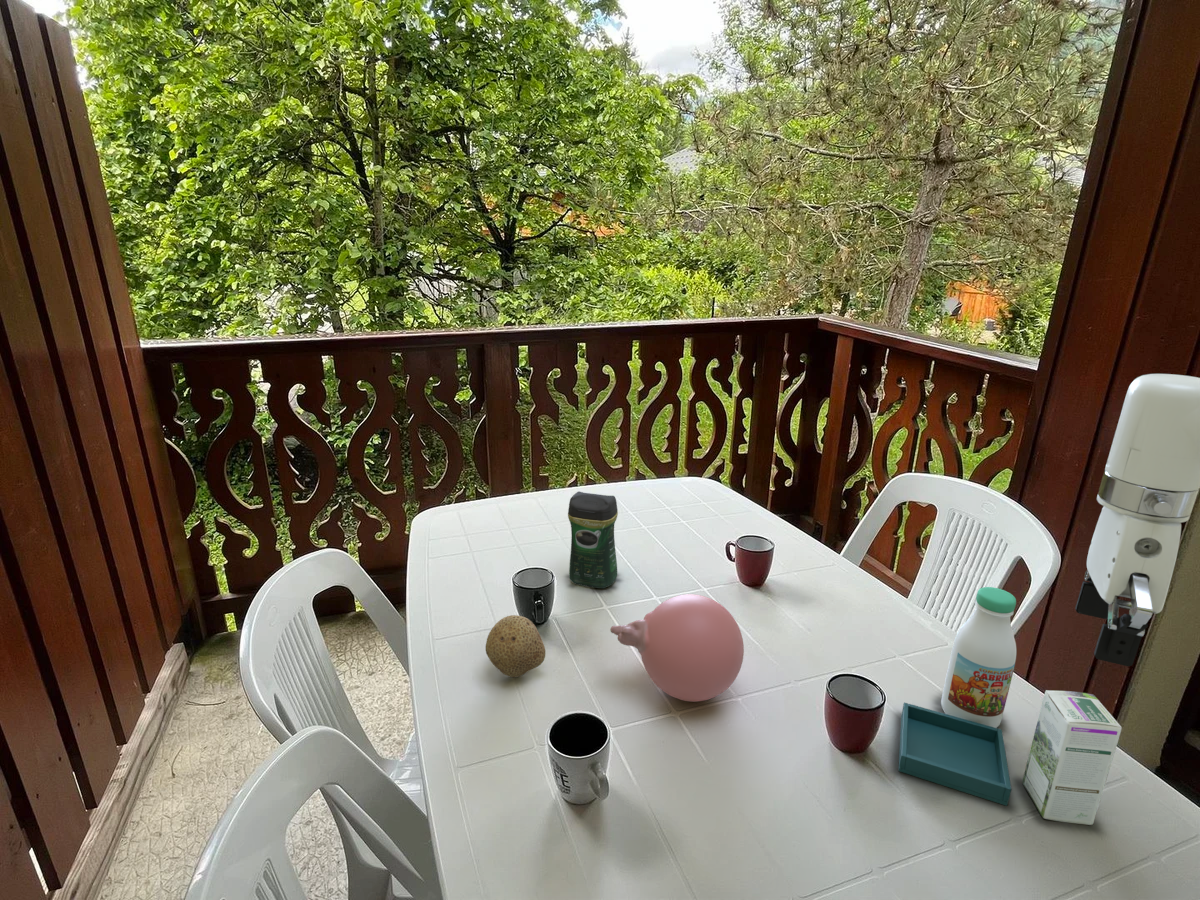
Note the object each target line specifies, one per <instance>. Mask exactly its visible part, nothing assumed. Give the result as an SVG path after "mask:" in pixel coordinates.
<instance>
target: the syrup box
mask: <svg viewBox="0 0 1200 900" xmlns="http://www.w3.org/2000/svg"><path fill="white" fill-rule="evenodd" d="M1122 729H1123V727H1122V726H1121V724H1120V723H1119V722H1118V721H1117V720H1116V719H1115V718H1114V716H1113V715H1112V714H1111V713H1110V712H1109V711H1108V710H1107V708H1106V707H1105V706H1104V705H1103V703H1101V701H1100V700H1099V699H1098V698H1097V697H1096V695H1094V694H1093V693H1087V692H1081V691H1070V690H1051V689H1050V690H1048V689H1045V691H1044V695H1043V698H1042V701H1041V707H1040V710H1039V714H1038V718H1037V722H1036V726H1035V729H1034V734H1033V738H1032V740H1031V741H1032V742H1031V745H1030V749H1029V753H1028V758H1027V762H1026V765H1025V770H1024V772H1023V778H1022V781H1021V784H1022V785H1023V786H1024V789H1025V790H1026V791H1027V793H1028V795H1029V797H1030V799H1031V801H1032V802H1033V803H1034V805H1035V807H1036V809H1037V810H1038V812H1039V814H1040V816H1041V817H1042V819H1044V820H1049V821H1055V822H1062V823H1070V824H1079V825H1087V826H1088V825H1089V826H1093V824H1094V823H1095V820H1096V816H1097V812H1098V809H1099V806H1100V802H1101V799H1102V796H1103V792H1104V789H1105V786H1106V782H1107V778H1108V776H1109V772H1110V768H1111V766H1112V762H1113V759H1114V756H1115V753H1116V749H1117V746H1118V743H1119V739H1120V736H1121V732H1122Z"/></svg>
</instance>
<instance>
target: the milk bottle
mask: <svg viewBox="0 0 1200 900" xmlns="http://www.w3.org/2000/svg"><path fill="white" fill-rule="evenodd" d="M974 605H975V610H974V611H973V612H972V614H971V615H970V616H969V618H967V620H966V621H965V622H963V623H962V625H961V626H960V628H959V629H958V631H957V633H956V635H955V638H954V640H953V645H952V648H951V651H950V652H951V653H950V657H949V662H948V667H947V671H946V674H945V678H944V679H945V680H944V685H943V689H942V694H941V700H940V705H941V708H942V710H943V713H944V714H948V715H951V716H955V717H958V718H962V719H965V720H969V721H973V722H976V723H980V724H983V725H987V726H991V727H994V728H998V727H999V726H1000V725H1001V722H1002V718H1003V716H1004V712H1005V707H1006V704H1007V700H1008V696H1009V692H1010V689H1011V683H1012V679H1013V676H1014V670H1015V666H1016V661H1017V642H1016V639H1015V635H1014V631H1013V628H1012V623H1011V622H1012V621H1011V617H1012V616H1013V615H1014V613H1015V612H1014V611H1015V609H1016V605H1017V599H1016V597H1015V596H1014V595H1013V594H1012V593H1011V592H1008V591H1006V590H1005V589H1001V588H998V587H995V586H993V587H992V586H985V587H981V588H979V589H978V590H977V592H976V598H975V601H974Z"/></svg>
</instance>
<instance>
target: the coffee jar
mask: <svg viewBox="0 0 1200 900" xmlns="http://www.w3.org/2000/svg"><path fill="white" fill-rule="evenodd" d="M567 510H568V511H567V517H568V521H569V523H570V529H571V530H570V531H571V534H570V535H571V537H570V540H571V541H570V545H571V546H570V556H569V567H568V578H569V580H570V582H571V583H572V584H575V585H577V586H582V587H589V588H594V589H595V588H596V589H606V588H608V587H610V586H612V585H613V584H614V583H615V581H616V580H617V578H618V561H617V554H616V553H617V552H616V542H615V524H616V522H617V519H618V515H619V510H618V503H617V498H616V496H615V495H606V494H598V493H590V492H583V491H576V492H575V493H574V494H572V496H571V497H570V499H569V503H568V509H567Z"/></svg>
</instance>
